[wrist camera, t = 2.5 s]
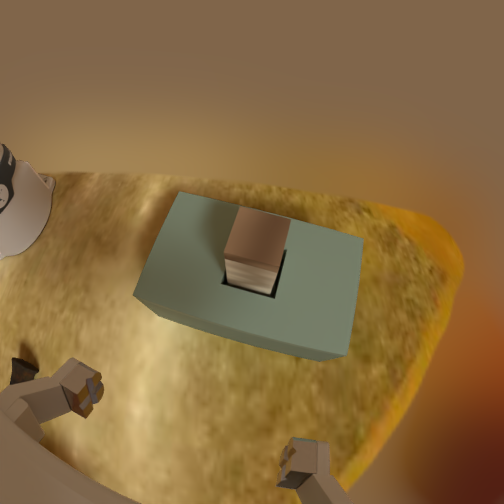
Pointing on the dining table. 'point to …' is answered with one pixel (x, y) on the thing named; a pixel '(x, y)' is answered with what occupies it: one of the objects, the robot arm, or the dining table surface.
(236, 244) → the wooden block
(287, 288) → the box with square hole
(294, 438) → the robot arm
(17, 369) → the hand tool
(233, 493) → the dining table surface
